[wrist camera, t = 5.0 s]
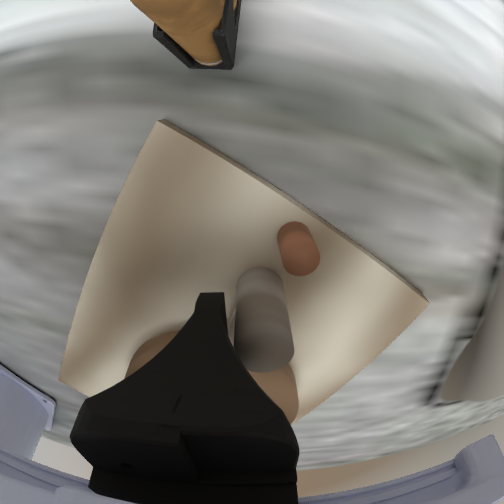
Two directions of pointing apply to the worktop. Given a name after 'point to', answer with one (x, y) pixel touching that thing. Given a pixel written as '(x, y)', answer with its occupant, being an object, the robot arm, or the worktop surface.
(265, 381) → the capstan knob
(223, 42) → the ammunition clip
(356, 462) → the worktop surface
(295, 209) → the board
